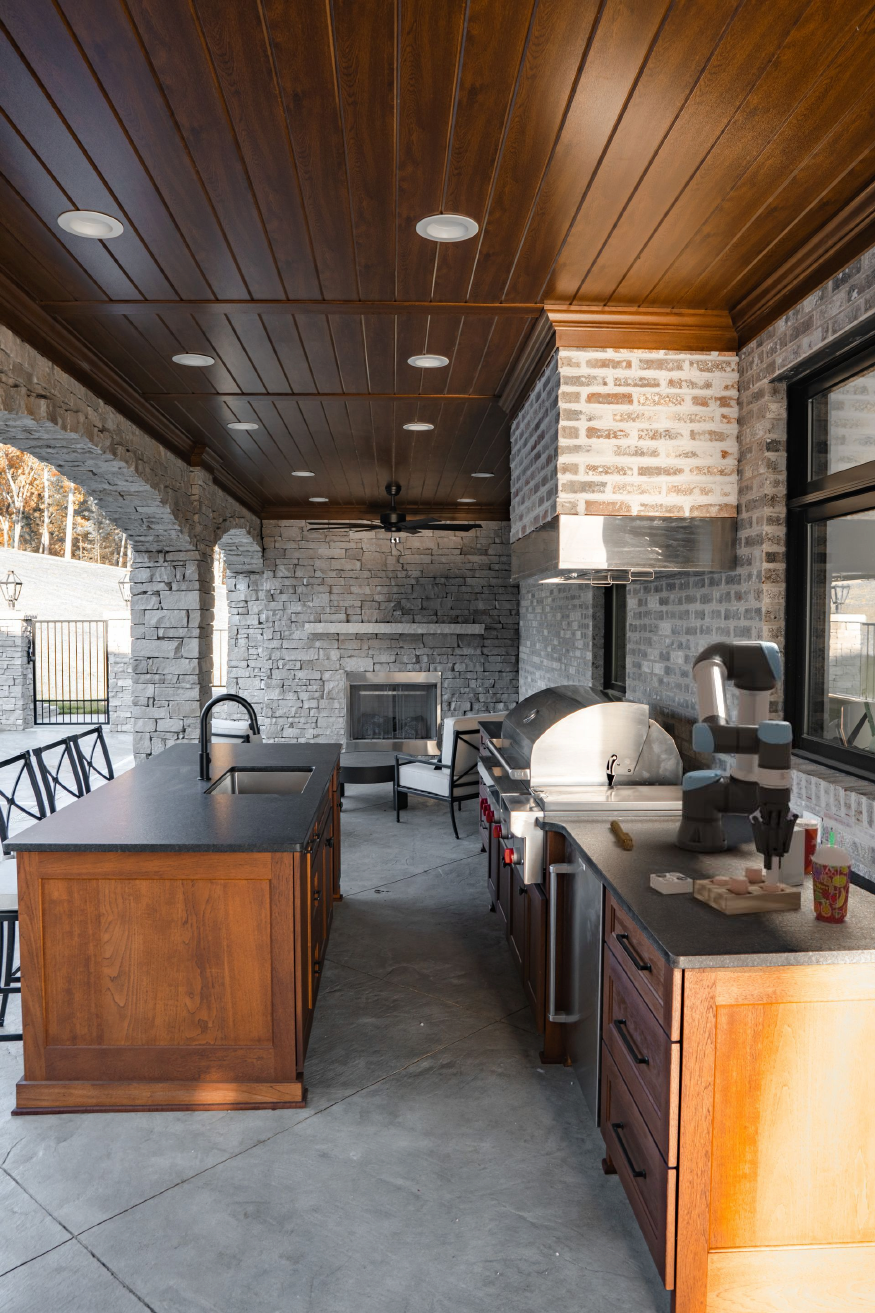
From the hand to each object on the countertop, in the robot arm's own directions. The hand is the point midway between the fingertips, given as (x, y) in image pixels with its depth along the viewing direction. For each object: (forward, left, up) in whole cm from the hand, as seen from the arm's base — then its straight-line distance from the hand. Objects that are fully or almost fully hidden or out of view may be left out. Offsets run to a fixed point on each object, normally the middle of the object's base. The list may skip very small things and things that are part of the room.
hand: (771, 882), depth 197 cm
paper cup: (-24, +28, -6) cm, 37 cm away
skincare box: (-15, +15, -6) cm, 22 cm away
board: (-4, -4, -6) cm, 8 cm away
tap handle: (-68, -5, -6) cm, 68 cm away
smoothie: (+11, +7, -6) cm, 15 cm away
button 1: (-7, -9, -4) cm, 12 cm away
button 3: (-7, 0, -2) cm, 7 cm away
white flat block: (-17, -17, -6) cm, 25 cm away
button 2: (0, -9, -2) cm, 9 cm away
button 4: (0, 0, -4) cm, 4 cm away
